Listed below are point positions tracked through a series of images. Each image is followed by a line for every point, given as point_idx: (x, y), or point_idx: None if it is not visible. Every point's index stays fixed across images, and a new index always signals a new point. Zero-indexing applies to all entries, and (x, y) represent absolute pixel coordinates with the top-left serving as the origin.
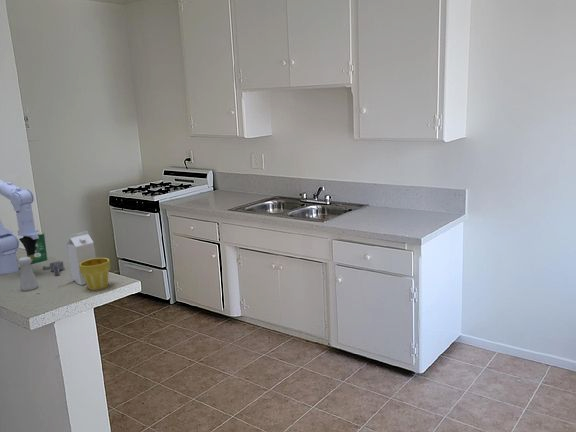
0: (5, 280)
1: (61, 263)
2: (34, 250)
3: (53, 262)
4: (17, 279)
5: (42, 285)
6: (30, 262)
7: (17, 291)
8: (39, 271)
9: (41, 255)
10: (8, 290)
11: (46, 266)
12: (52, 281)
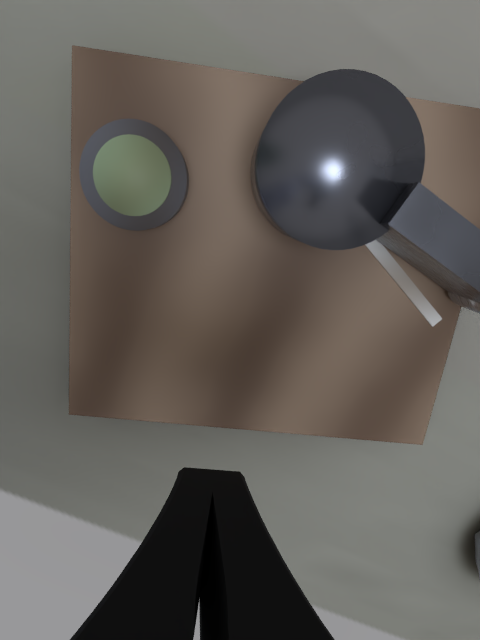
0: (49, 502)
1: (422, 139)
2: (261, 523)
3: (270, 164)
4: (118, 447)
5: (477, 436)
6: None
7: (408, 572)
8: (50, 223)
9: None
10: (325, 588)
11: (141, 196)
12: (474, 347)
